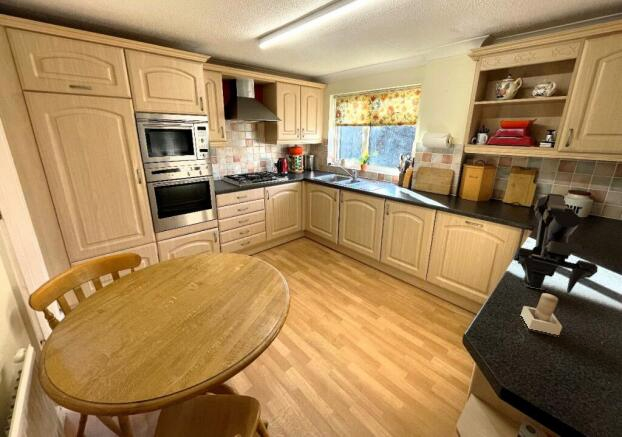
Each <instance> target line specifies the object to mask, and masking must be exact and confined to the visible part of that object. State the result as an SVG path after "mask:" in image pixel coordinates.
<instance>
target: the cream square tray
mask: <svg viewBox="0 0 622 437" xmlns="http://www.w3.org/2000/svg"><path fill="white" fill-rule="evenodd" d="M536 308H537V307H536ZM536 308H535V307H531V306H526V305H523V307H522V310H521V314H520V316H522V317H523V319H524V321H525V323H526V324H527V326H528V328H529V329H533V330H538V331H543V332H547V333H551V334H556V335H559V336H560V333H561V331H562V328H563V325H562V324H561V323H560V321H559V320H558V318H557V317H556V316H555V314H554V312H553V313H552V316H551V318H550V321H549V322H546V321H542V320H537V319H534V317H533V316H534V313H535V311H536Z"/></svg>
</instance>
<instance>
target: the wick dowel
mask: <svg viewBox="0 0 622 437" xmlns="http://www.w3.org/2000/svg"><path fill="white" fill-rule="evenodd" d="M558 301H559V298H558V297H557V296H555V295H553V294H550V293H546V292H545V293H544V292H543V293H542V294H541V296H540V298H539V301H538V304H537V306H536V311H535V313H534V316H533V317H534V319H537V320H542V321H546V322H549V321H550V318H551V316H552V313H553V314H554V311H555V308H556V306H557V304H558Z"/></svg>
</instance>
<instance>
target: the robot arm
mask: <svg viewBox="0 0 622 437" xmlns="http://www.w3.org/2000/svg"><path fill="white" fill-rule="evenodd" d="M565 197H566V196H565V195H563V194H559V193H558V194H557V193H551V192H550V193H546V196H542V197H539V198H538V199H537V201H536V202H535V205H534V207H533V210H534V211H535V214H534V217H535V218H536V219H537V220H538V227H537V231H536V232H537V234H536V240H535V244H534V245H535V246H534V247H533V248H532V249H530V248H525V247H521V246H520V247H517V248H516V249H515V251H514V253H513V254H514V255H513V258H512V260H513V261H515V262H517V264H518V265H521V267H522V271H524V276H523V279H524V280H523V282H525V283H526V284H528V285H530V286H531V287H535V288H541V287H542V286H543V285H544V281H545V279H546V277H549V278H552V277H554V275H555V272H556V271H557V270H558V268H559V267H560V268H565V269H569V270H571V273H570V275H569V278H568V282H567V288H566V293H567V294H571V292H572V290H573V288H574V287H575V285H576V284H577V282H578V281H579V280H584V279H585V278H587V279H589V278H592V277H593V276H594V275H595V274H597V273H598V268H599V267H598V266H597V264H596V263H594V262H590V261H585V260H581V259H579V260H577V261H576V263H574V262H570V261H567V260H568V259H569V257H570V256H571V255H575V256H578V255H580V253H581V250H582V244H581V243H577V242H572V243H570V244H569V243H568V242H569V236H570V235H572V234H573V232H574V231H575V230H576V229H577V228H578V226H579V225H580V224H581V222H582V220H581V217H580V216H579V215H578V214H577V213H576V212H575V210H574V209H573V208H571V207H568V206H566V201H565Z"/></svg>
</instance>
